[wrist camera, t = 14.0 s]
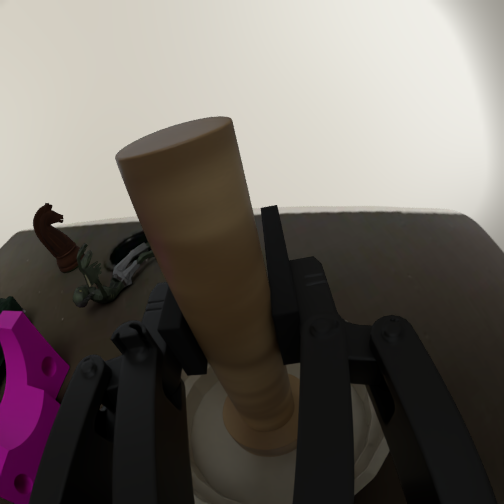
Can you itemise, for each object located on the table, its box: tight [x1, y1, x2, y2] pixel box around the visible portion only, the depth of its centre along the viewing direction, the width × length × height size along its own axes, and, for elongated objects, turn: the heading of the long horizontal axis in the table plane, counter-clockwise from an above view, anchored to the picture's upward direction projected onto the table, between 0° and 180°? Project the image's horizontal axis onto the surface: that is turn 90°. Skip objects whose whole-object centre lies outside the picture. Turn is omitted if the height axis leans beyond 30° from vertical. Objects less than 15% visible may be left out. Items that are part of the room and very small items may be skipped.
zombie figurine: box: [73, 242, 155, 307], centre depth 31 cm, size 5×7×15 cm
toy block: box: [0, 311, 70, 504], centre depth 15 cm, size 15×6×8 cm, turn 175°
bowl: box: [181, 320, 390, 504], centre depth 15 cm, size 13×13×4 cm
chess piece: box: [33, 203, 84, 273], centre depth 36 cm, size 5×5×10 cm
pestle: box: [115, 117, 300, 457], centre depth 11 cm, size 5×5×15 cm
